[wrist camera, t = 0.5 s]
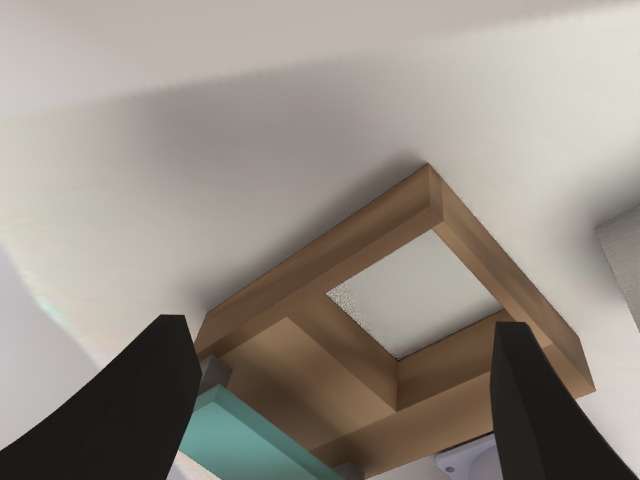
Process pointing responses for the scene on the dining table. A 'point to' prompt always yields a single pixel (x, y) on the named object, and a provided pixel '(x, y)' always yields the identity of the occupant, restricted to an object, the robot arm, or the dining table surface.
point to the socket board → (358, 354)
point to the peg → (624, 255)
